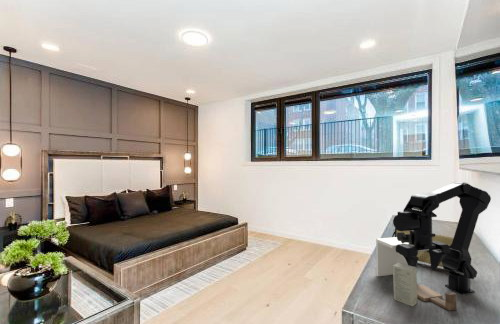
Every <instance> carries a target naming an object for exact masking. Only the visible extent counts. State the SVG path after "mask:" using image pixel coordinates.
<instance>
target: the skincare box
mask: <svg viewBox="0 0 500 324" xmlns="http://www.w3.org/2000/svg"><path fill="white" fill-rule="evenodd" d="M417 279H418V278H417V266H416V267H413V266H409V265H406V264H402V263H398V262H397V263H396V264H394V265H393V275H392V280H393V300H395V301H398V302H400V303H403V304H405V305H407V306H411V307H414V306H416V304H417V303H418V301H419V300H418V297H417V285H418V281H417Z"/></svg>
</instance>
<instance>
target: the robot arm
mask: <svg viewBox="0 0 500 324" xmlns="http://www.w3.org/2000/svg"><path fill="white" fill-rule="evenodd" d="M455 197H456V198H459V205H460V207H461V212H460V216H459V219H458V222H457V225H456V229H455V232H454V236H453V237H454V238H453V241H452V244H451V245H450V246H448V244H445V243H442V242H439V241H432V237H435V234H436V233H433V218H437V216H438V215H437V214H436V213H435V212H433V211H435V210H437V209H438V208H439V207H440V204H441V203H444V202H446V201H448V200H451V199H453V198H455ZM491 199H492V197H491V195H490V194H489V193H488V192H487V191H485V190H482V189H481V188H478V187H475V186H473V185H471V184H469V183H468V182H465V181H464V182H463V181H462V182H461V181H453V182H451V183H450V184H448V185H444V186H443V187H441V188H438V189H436V190H433V191H430V192H421V193H415V194H413V195H412V194H411V196H410V198H409V200H408V202H407V204H406V205H405V207H404V208H403V210H402V211H397V214H396V215H395V216H394V218H393V219H392V224H393V227H394V229H395V228H396V229H397V230H398V231H410V234H406V235H405V234H404V232H399V233H397V240H398V241H401V243H407V242H408V243H409V244H411V245H414V246H410V245H407V244H398V245H396V252H398V253H399V254H401V255H403V256H404V258H405V259H406V261H407V264H408V265H409V266H413V267H416V268H417V266H418V265H417V263H418V262H419V261H418V257H417V255H418V252H420V251H428V252H429V254H430V263H431V264H430V267H431V269H430V270H431V271H433V272H435V271H437V270H436V269H438V267H439V266H438V265H439V264H440V262H442V265H443V267H442V268H443V270H445V271H450V272H448V279H447V280H448V281H447V282H448V284H444V287H445V288H448V289H449V290H452V291H454V292H456V293H458V294H460V295H467V294H473V293H476V291H475V290H473V289H471V280H474V279H475V278H477V274H478V270H476V268H474V266H473V265H472V256H471V254H470V252H469V249H470V245H471V242H472V238H473V235H474V231H475V230H476V225H477V222H478V219H479V216H480V215H481V214H482V213H483V212H484V211H486V210H487V209H488V207H489V204H490V203H491ZM419 248H420V249H419Z"/></svg>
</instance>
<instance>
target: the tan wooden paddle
mask: <svg viewBox="0 0 500 324" xmlns="http://www.w3.org/2000/svg"><path fill="white" fill-rule="evenodd" d="M443 296H444V297H445V300H443V298H444V297H443ZM417 299H420V300H421V301H423V302H428V301H430V302H432V303H434V304H436V305H438V306H440V307H441V308H443V309H444V310H447V311H449V312H450V311H455V310H456V311H457V293H455V292H453V291H451V292H445V295H443V294H441V293H439V292H437V291H435V290H433V289H431V288H429V287H428V286H425V285H424V284H419V285H418V284H417Z"/></svg>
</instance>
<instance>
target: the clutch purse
mask: <svg viewBox="0 0 500 324" xmlns="http://www.w3.org/2000/svg"><path fill="white" fill-rule="evenodd" d="M399 232H404V234H405V235H406V234H410V231H398V230H397V229H396V228H395V227H394V231H393V233H392V235H391V237H397V233H399ZM434 234H435V237H432V241H439V242H442V243H445V244H448V246H450V245H451V244H452V241H453V238H454V236H449V235H442V234H438V233H434ZM419 249H420V248H419ZM417 257H418V262H419V263H418V262H417V266H420V267H424V268H426V269H430V270H431V266H427V265H425V263H426V264H430V265H431V263H430V254H429V252H428V251H420V252H418V255H417ZM420 262H422V263H424V265H423V264H421V263H420ZM438 267H440V268H443V265H442V262H440V264H439V265H438ZM435 271H439V272H444V273H449V272H450V271H448V270H445V269H439V268H436V270H435Z"/></svg>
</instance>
